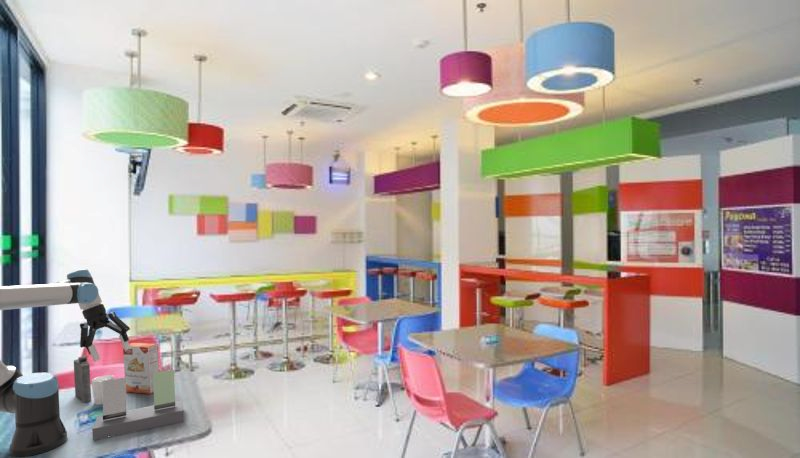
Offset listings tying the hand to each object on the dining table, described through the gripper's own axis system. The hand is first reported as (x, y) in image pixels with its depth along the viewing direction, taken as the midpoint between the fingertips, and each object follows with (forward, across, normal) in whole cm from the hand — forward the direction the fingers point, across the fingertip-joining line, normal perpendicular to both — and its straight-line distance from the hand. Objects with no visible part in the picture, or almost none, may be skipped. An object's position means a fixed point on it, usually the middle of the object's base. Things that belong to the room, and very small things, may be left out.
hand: (112, 355), depth 182 cm
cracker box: (+22, +6, -16) cm, 28 cm away
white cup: (+18, +15, -5) cm, 24 cm away
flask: (+15, +27, -10) cm, 33 cm away
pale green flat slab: (+23, -22, +15) cm, 35 cm away
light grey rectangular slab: (+18, -9, +22) cm, 30 cm away
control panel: (+25, -14, +19) cm, 34 cm away
